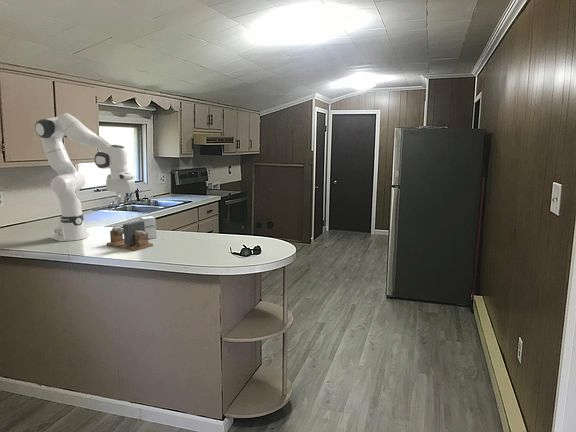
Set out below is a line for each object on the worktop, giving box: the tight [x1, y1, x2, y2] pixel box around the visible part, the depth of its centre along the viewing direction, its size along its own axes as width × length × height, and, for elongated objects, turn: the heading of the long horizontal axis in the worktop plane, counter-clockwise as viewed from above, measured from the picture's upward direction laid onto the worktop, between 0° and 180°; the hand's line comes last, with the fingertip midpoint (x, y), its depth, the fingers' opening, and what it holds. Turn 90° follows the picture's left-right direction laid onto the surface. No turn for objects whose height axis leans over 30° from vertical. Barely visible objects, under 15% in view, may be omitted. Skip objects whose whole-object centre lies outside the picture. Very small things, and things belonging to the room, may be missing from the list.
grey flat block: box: [122, 220, 145, 245], centre depth 251 cm, size 4×11×11 cm, turn 148°
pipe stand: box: [105, 226, 154, 252], centre depth 254 cm, size 24×12×10 cm, turn 58°
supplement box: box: [139, 215, 158, 240], centre depth 273 cm, size 7×7×13 cm
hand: (121, 200), depth 253 cm, fingers closed
